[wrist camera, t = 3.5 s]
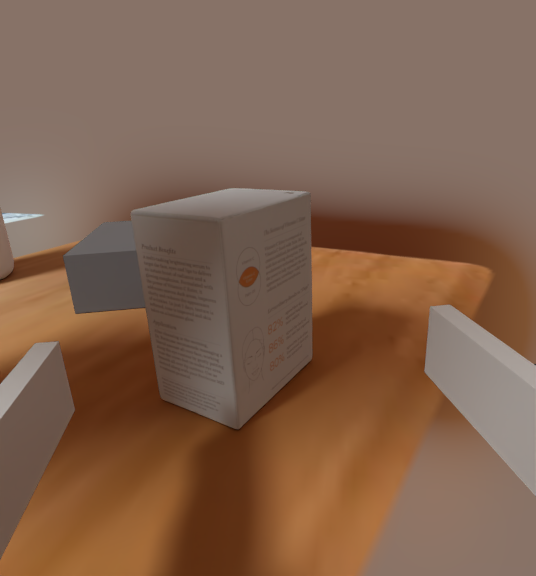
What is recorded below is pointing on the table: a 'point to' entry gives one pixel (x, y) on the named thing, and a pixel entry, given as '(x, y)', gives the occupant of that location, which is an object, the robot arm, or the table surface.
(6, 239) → the wine bottle
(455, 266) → the table surface
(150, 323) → the small box
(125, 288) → the plinth
